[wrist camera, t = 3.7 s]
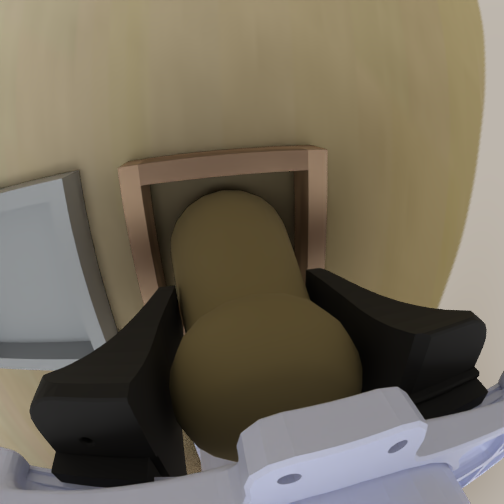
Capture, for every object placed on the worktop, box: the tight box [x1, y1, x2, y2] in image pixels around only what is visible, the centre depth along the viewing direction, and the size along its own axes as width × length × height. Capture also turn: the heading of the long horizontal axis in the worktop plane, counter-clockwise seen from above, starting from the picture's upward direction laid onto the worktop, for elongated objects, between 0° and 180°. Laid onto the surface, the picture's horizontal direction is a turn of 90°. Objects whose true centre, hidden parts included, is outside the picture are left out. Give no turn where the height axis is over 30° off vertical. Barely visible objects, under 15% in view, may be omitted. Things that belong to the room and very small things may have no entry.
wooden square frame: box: [118, 145, 327, 335], centre depth 17 cm, size 10×10×2 cm
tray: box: [0, 170, 118, 370], centre depth 16 cm, size 12×12×2 cm
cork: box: [169, 190, 362, 462], centre depth 12 cm, size 6×6×11 cm
